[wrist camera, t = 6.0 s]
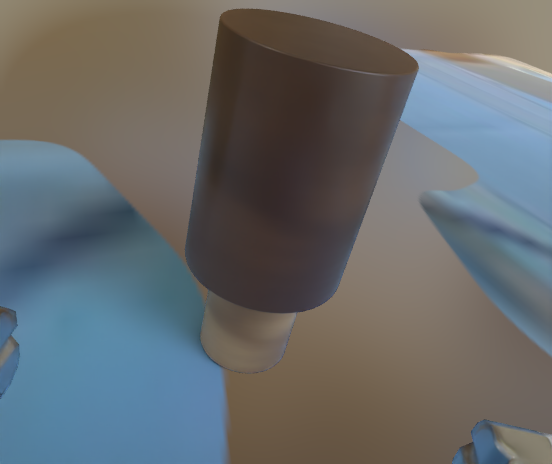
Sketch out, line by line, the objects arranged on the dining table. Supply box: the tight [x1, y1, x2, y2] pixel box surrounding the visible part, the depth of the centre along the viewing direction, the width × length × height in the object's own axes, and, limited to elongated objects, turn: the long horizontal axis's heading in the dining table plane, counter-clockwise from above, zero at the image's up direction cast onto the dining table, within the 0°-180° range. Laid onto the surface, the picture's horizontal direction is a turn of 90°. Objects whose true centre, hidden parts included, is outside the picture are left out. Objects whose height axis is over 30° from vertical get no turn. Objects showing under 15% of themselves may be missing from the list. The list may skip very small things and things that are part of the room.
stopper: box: [185, 9, 419, 373], centre depth 16 cm, size 5×5×11 cm
